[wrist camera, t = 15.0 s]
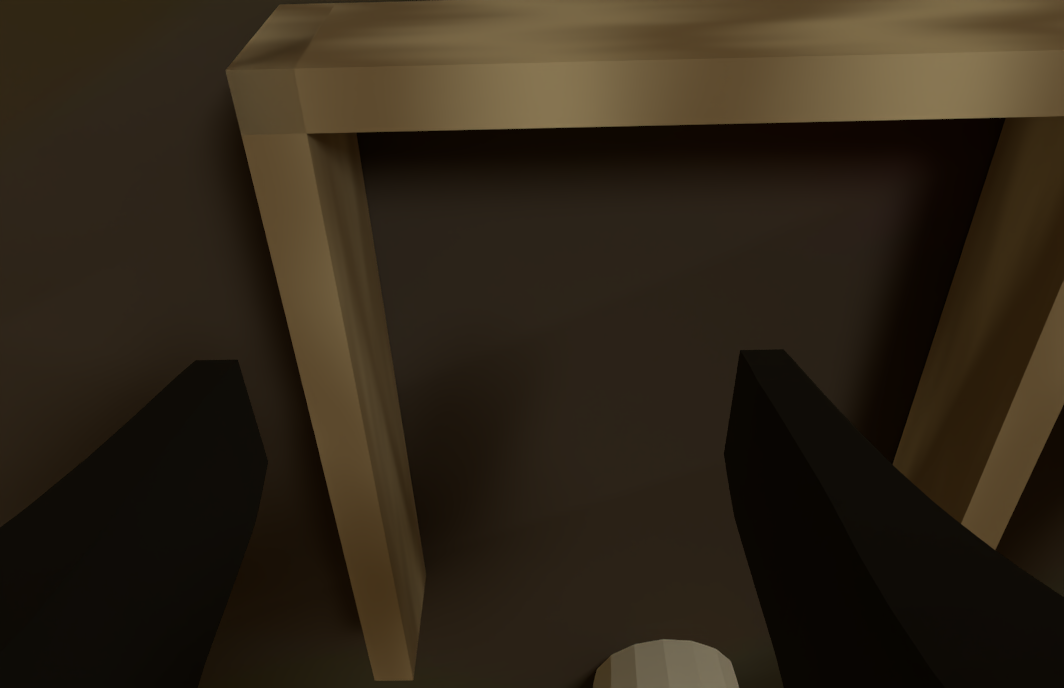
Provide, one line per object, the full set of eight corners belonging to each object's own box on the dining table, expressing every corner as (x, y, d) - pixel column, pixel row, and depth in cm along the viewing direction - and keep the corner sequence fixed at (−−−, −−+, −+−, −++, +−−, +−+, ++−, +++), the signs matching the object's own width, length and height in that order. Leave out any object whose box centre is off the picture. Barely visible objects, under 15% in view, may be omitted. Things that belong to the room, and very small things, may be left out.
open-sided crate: (1106, -17, 18) (1232, 46, 15) (893, 567, 29) (937, 673, 26) (279, 4, 18) (225, 70, 15) (391, 575, 30) (375, 681, 27)
